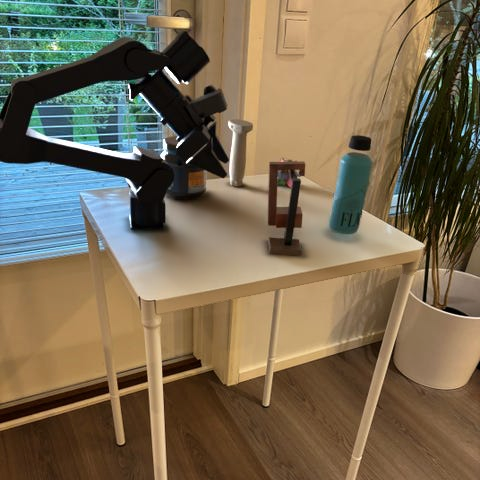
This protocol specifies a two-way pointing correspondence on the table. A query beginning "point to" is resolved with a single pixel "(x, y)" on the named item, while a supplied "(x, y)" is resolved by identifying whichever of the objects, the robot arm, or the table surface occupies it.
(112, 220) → the table surface
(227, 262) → the table surface
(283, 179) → the geometric puzzle
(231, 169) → the handle
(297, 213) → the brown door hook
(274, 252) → the rack
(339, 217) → the beverage bottle
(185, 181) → the supplement container
